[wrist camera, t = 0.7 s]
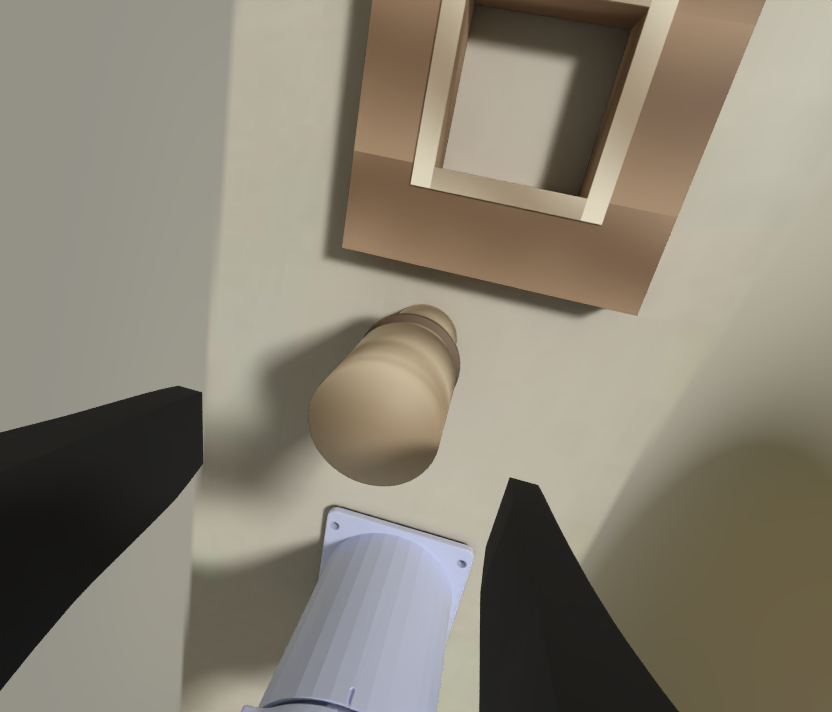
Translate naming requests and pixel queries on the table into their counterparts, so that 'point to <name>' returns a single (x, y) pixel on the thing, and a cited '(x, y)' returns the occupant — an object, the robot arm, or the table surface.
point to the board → (527, 206)
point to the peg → (388, 399)
